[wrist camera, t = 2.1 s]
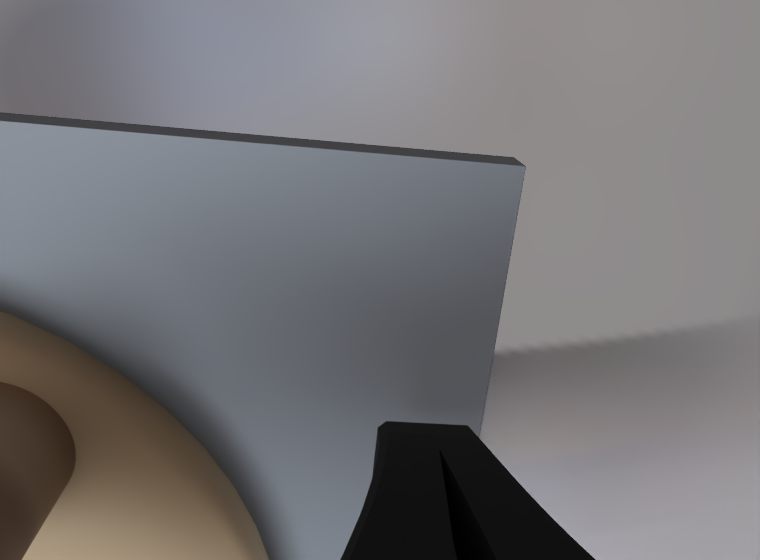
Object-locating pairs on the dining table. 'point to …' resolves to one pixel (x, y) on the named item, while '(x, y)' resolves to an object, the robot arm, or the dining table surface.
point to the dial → (103, 465)
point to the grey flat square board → (266, 293)
